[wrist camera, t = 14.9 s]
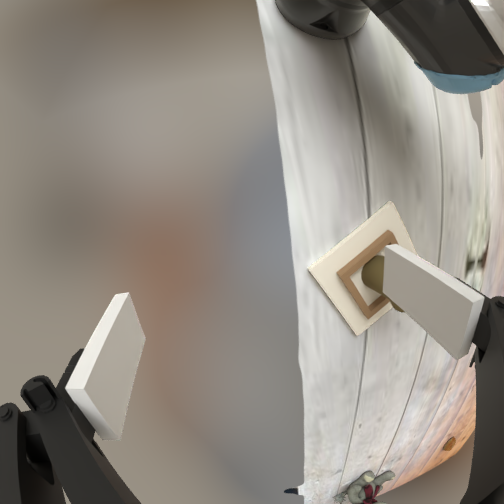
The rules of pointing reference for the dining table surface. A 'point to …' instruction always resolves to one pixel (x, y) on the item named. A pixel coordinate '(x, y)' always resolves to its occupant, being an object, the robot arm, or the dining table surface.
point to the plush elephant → (366, 488)
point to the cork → (376, 277)
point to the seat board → (360, 267)
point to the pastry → (449, 444)
